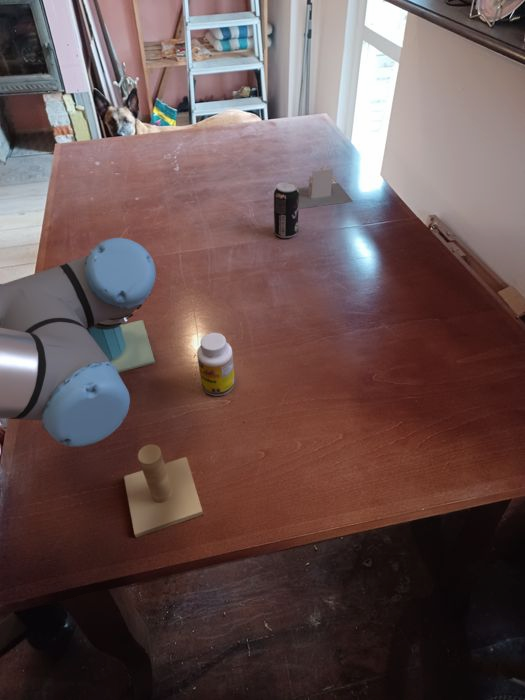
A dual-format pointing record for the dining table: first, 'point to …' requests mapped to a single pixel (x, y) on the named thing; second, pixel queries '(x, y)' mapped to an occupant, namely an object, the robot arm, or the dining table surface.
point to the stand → (160, 492)
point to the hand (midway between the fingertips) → (92, 326)
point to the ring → (109, 341)
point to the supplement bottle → (216, 364)
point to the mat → (134, 348)
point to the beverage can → (286, 210)
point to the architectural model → (322, 190)
